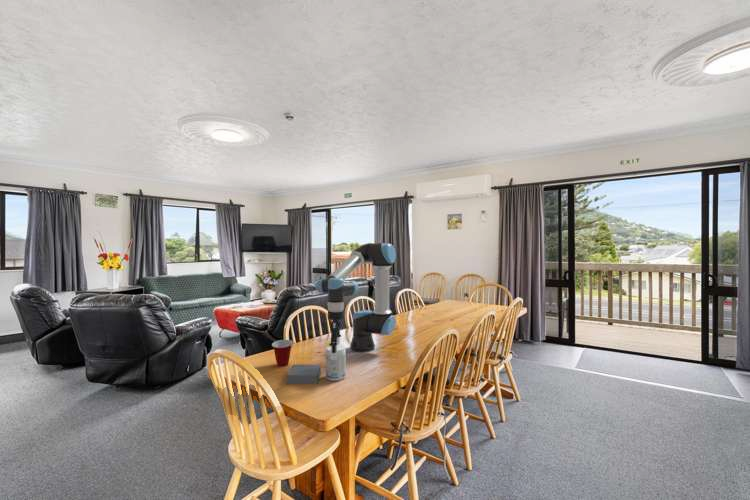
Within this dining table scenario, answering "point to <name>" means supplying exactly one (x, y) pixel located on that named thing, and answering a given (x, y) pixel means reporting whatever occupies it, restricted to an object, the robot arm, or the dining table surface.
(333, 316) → the robot arm
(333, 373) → the supplement tub
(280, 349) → the plastic cup
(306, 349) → the dining table surface
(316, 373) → the plinth
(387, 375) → the dining table surface
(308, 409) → the dining table surface
